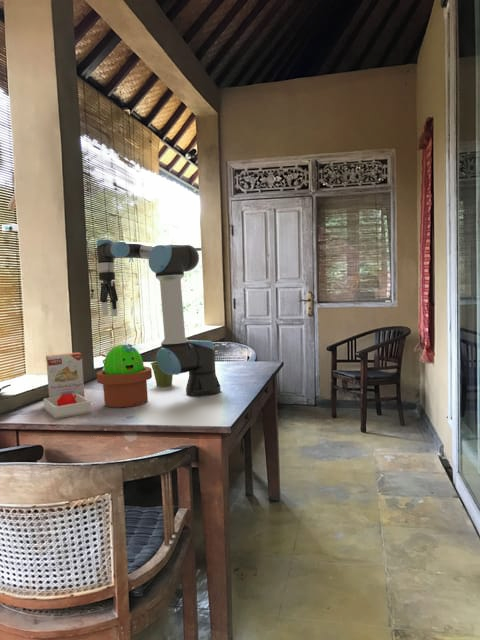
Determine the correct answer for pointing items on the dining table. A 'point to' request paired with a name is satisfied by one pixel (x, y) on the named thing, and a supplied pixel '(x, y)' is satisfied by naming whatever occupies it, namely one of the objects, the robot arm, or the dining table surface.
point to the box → (67, 407)
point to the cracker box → (65, 374)
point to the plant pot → (161, 376)
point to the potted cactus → (124, 377)
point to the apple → (66, 399)
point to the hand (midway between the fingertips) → (109, 315)
